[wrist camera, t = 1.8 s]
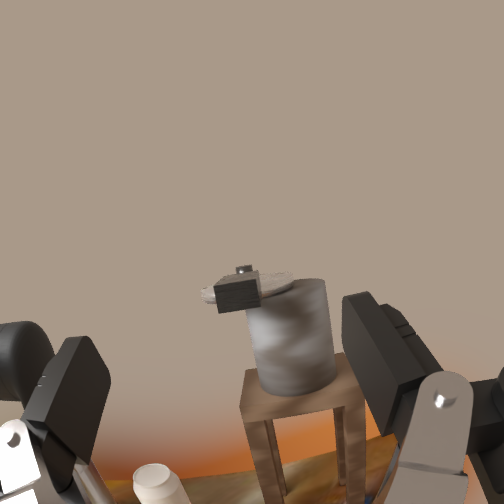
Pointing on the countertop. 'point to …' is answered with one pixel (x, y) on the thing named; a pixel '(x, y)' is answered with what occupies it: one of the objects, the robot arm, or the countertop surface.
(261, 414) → the stand
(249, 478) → the countertop surface
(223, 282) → the cooker lid
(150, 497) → the beverage can
